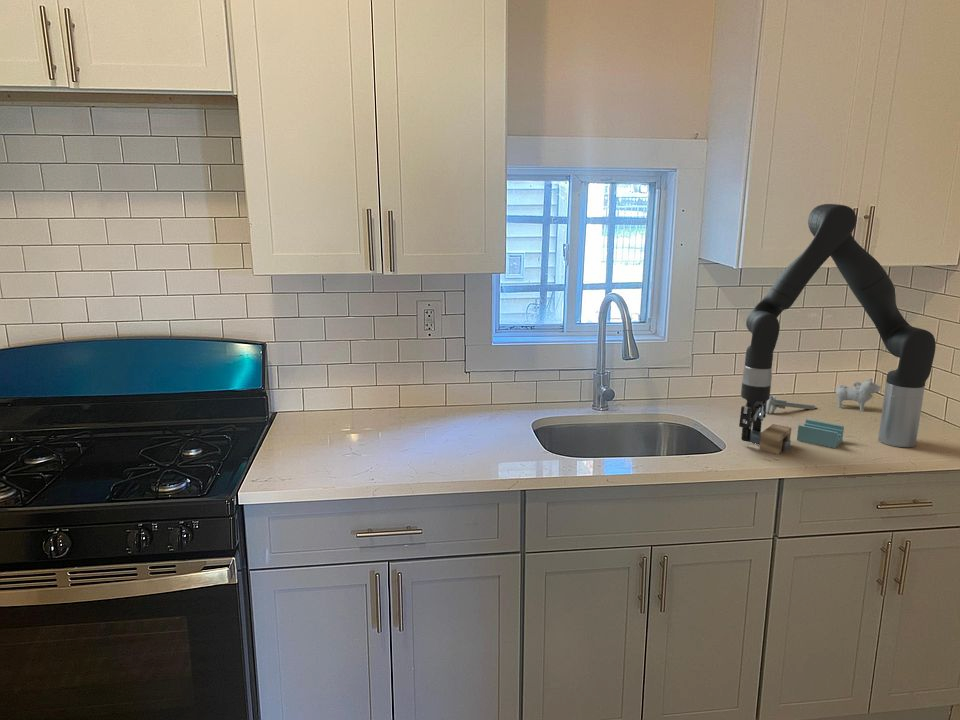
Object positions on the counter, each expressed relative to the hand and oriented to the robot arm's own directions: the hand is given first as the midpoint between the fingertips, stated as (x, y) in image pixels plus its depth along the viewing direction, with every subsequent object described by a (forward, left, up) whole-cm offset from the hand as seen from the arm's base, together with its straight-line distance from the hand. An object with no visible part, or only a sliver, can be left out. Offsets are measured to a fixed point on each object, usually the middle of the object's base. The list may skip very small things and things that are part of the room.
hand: (751, 437), depth 190 cm
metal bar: (-1, +4, -2) cm, 5 cm away
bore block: (0, +7, -2) cm, 7 cm away
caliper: (-39, 0, -2) cm, 39 cm away
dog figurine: (-56, +15, -2) cm, 58 cm away
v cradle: (-14, +15, -2) cm, 20 cm away
